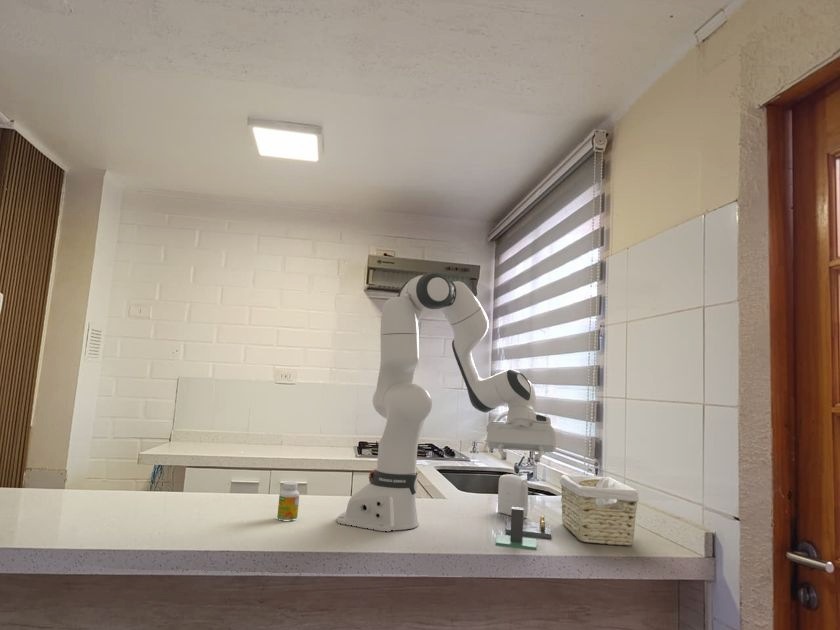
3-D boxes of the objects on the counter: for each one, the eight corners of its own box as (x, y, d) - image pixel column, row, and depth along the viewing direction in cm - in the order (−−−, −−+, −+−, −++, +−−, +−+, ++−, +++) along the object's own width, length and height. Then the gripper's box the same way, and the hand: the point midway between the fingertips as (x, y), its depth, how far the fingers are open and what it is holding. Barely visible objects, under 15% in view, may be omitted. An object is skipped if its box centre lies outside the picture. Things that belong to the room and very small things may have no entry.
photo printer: (495, 512, 172) (496, 472, 174) (504, 510, 175) (505, 471, 176) (520, 519, 164) (521, 477, 166) (529, 518, 167) (530, 477, 168)
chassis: (505, 533, 146) (506, 520, 147) (507, 523, 158) (508, 510, 159) (551, 538, 144) (551, 524, 144) (549, 528, 156) (549, 515, 156)
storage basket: (557, 522, 164) (558, 472, 166) (611, 526, 163) (611, 476, 165) (577, 544, 140) (578, 486, 142) (640, 549, 140) (641, 490, 142)
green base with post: (495, 545, 135) (497, 509, 136) (497, 537, 143) (499, 503, 144) (536, 550, 133) (537, 513, 134) (536, 542, 141) (537, 507, 142)
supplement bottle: (273, 520, 146) (276, 483, 147) (282, 516, 151) (286, 480, 152) (291, 522, 144) (294, 485, 146) (300, 518, 150) (303, 482, 151)
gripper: (487, 414, 165) (483, 450, 155) (555, 418, 161) (557, 455, 150) (487, 428, 169) (484, 464, 158) (554, 432, 165) (555, 469, 154)
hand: (520, 460), depth 154 cm, fingers open, 8 cm apart
